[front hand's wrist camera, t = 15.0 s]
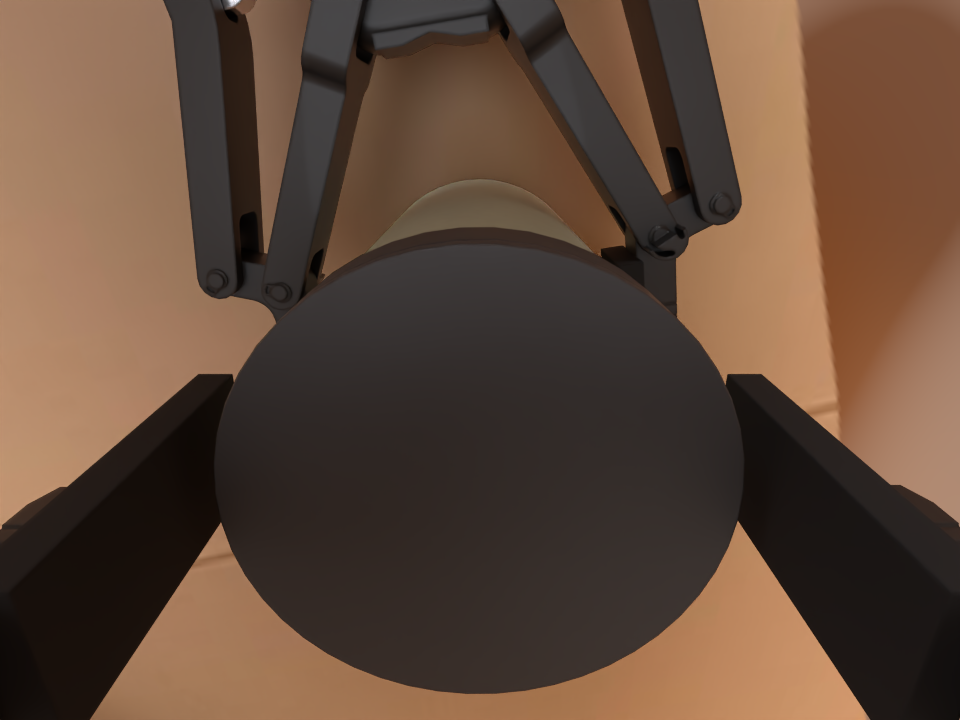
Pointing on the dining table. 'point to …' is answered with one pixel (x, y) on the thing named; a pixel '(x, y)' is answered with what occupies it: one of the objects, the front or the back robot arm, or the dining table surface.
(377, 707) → the dining table surface
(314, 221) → the back robot arm
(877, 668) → the front robot arm
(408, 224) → the jar
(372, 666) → the lid
